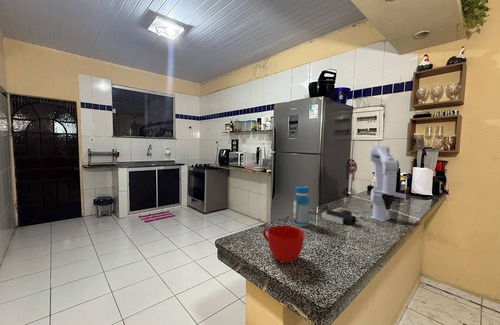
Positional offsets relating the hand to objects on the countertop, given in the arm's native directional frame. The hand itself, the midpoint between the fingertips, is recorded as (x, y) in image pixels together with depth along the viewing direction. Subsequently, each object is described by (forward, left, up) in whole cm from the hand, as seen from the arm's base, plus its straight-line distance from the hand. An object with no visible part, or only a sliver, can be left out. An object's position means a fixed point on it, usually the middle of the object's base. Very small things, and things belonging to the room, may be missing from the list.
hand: (387, 209), depth 116 cm
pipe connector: (+8, -20, -10) cm, 23 cm away
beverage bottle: (+33, -30, -10) cm, 46 cm away
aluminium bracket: (+5, -22, -9) cm, 25 cm away
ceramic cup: (+68, -12, -10) cm, 70 cm away
